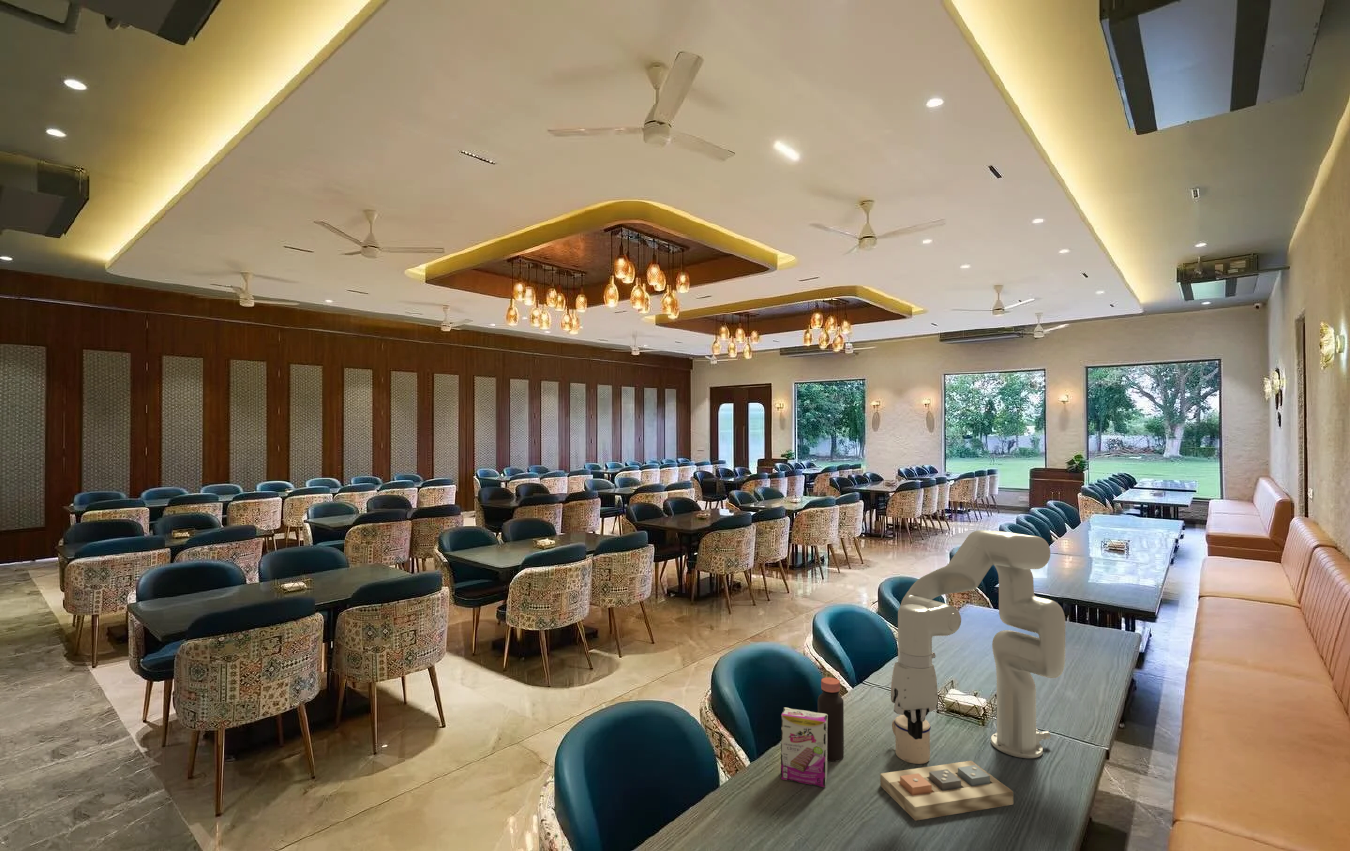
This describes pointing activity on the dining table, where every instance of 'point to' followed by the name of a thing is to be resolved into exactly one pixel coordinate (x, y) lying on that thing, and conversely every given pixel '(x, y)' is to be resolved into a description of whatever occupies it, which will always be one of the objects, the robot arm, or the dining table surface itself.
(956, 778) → the key three
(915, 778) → the key one
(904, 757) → the teacup with lid
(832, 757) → the bottle
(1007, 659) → the robot arm
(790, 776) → the candy bar box
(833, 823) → the dining table surface
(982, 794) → the wooden puzzle board
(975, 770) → the key two
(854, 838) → the dining table surface
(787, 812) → the dining table surface
